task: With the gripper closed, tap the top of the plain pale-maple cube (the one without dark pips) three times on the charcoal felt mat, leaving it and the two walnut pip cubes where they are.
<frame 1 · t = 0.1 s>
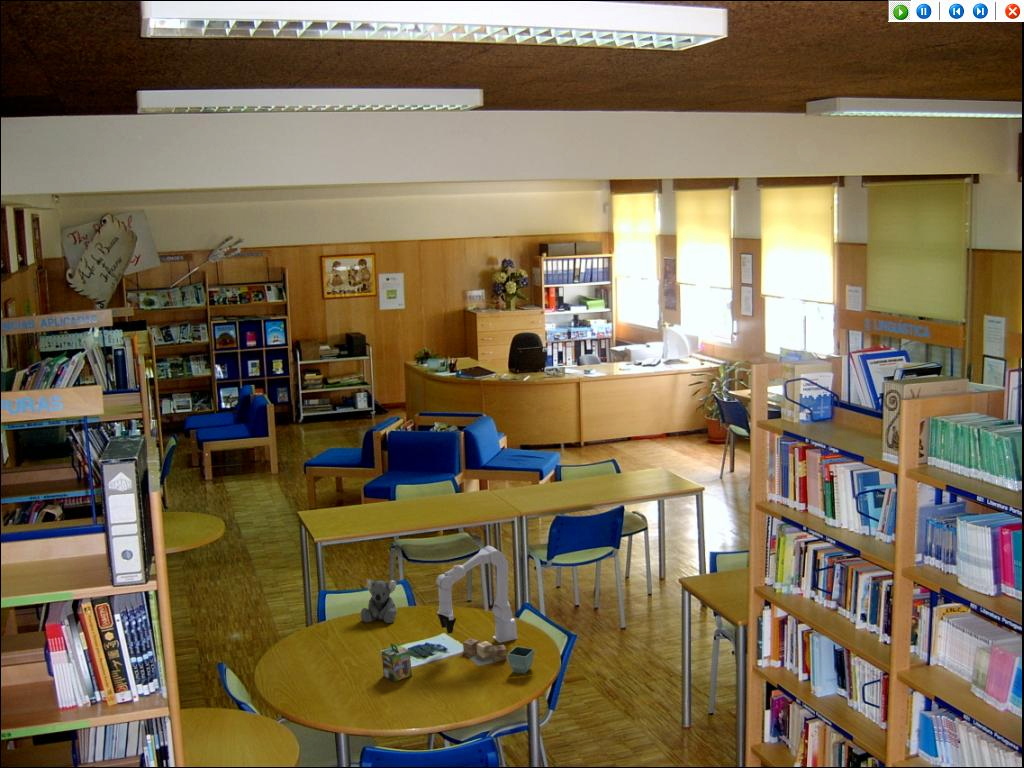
hand: (447, 630, 487), 10 cm above the table, fingers open, 7 cm apart
green printed carry box: (397, 676, 465), on the table
koala plush: (381, 617, 534), on the table
flower pot: (521, 671, 465), on the table
pip block two: (471, 651, 486), resting on felt mat
pip block one: (499, 658, 478), resting on felt mat
plain block: (485, 654, 482), resting on felt mat
felt mat: (485, 656, 482), on the table
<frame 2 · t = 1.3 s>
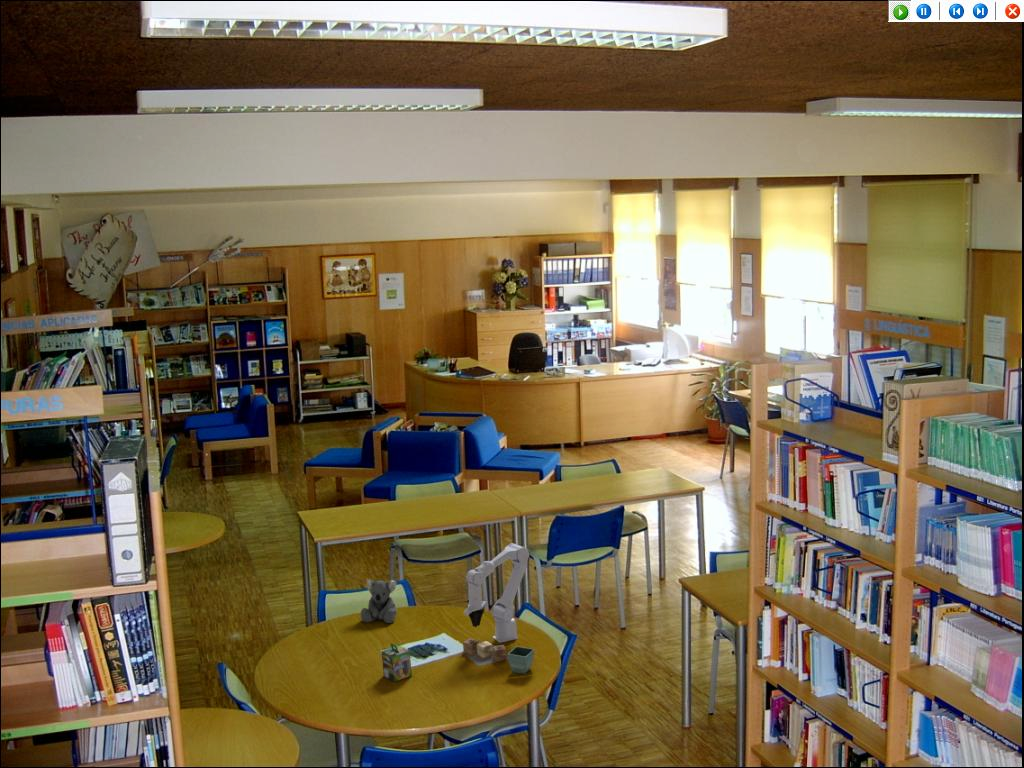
hand: (476, 625, 490), 10 cm above the table, fingers closed
nothing on the table moved.
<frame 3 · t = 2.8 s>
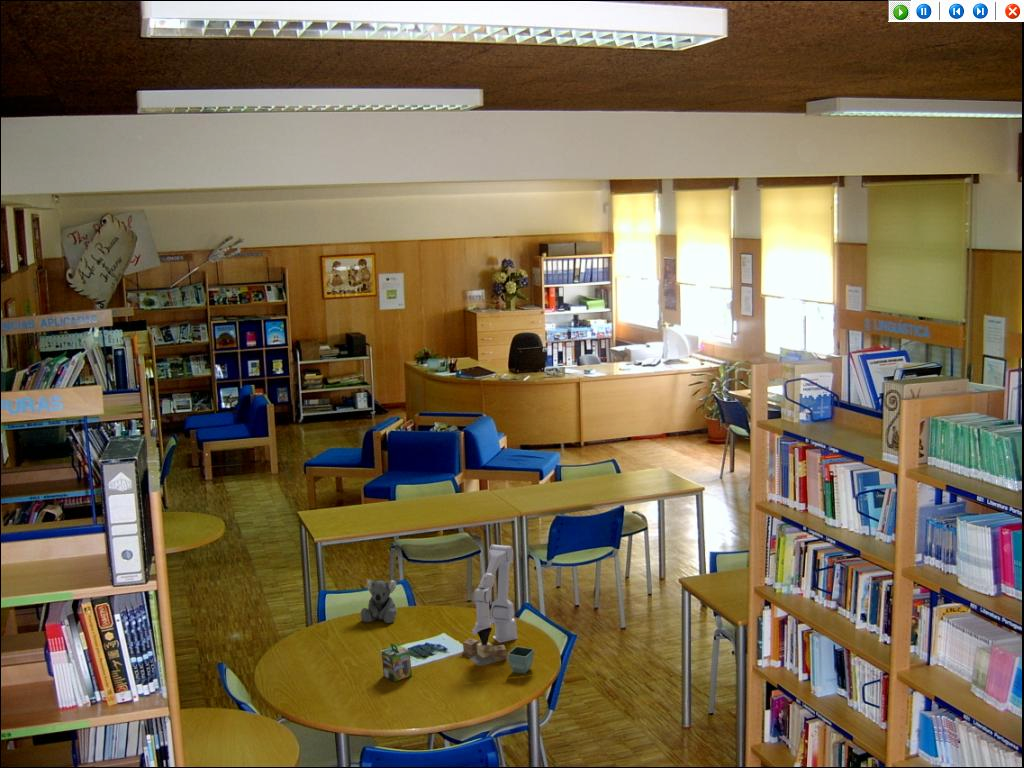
hand: (484, 644, 481), 5 cm above the table, fingers closed, pressing on plain block
plain block: (485, 654, 482), resting on felt mat, touching gripper
everything else where it was.
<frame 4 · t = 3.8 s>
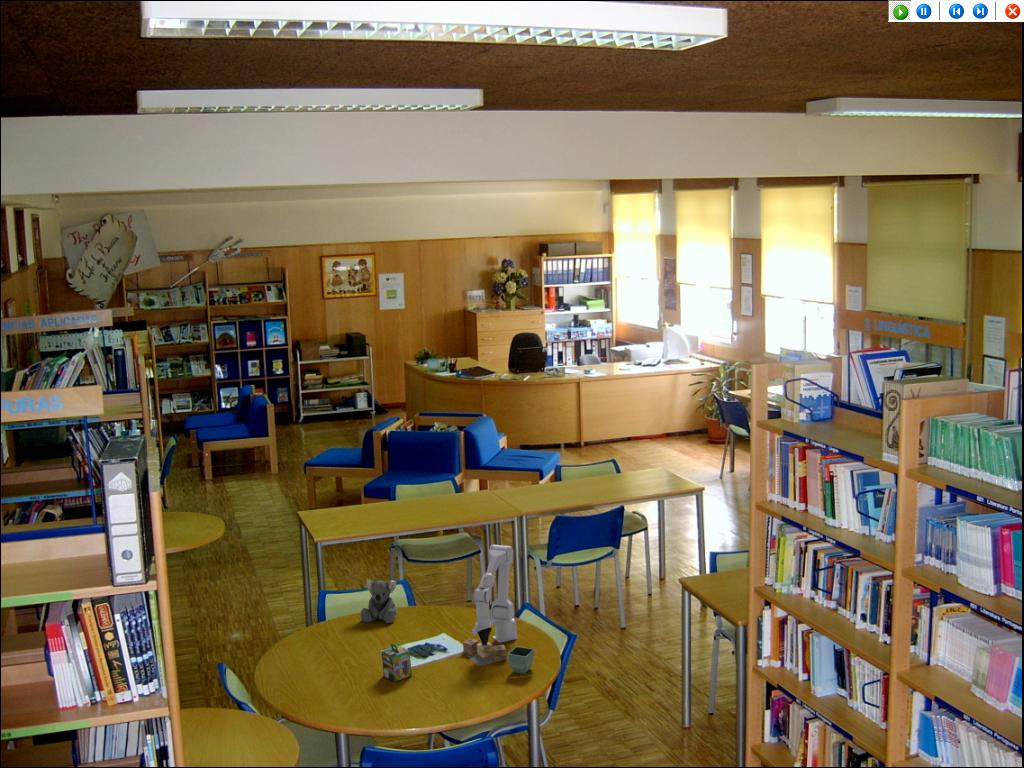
hand: (484, 644, 481), 5 cm above the table, fingers closed, pressing on plain block
plain block: (485, 654, 482), resting on felt mat, touching gripper
everything else where it was.
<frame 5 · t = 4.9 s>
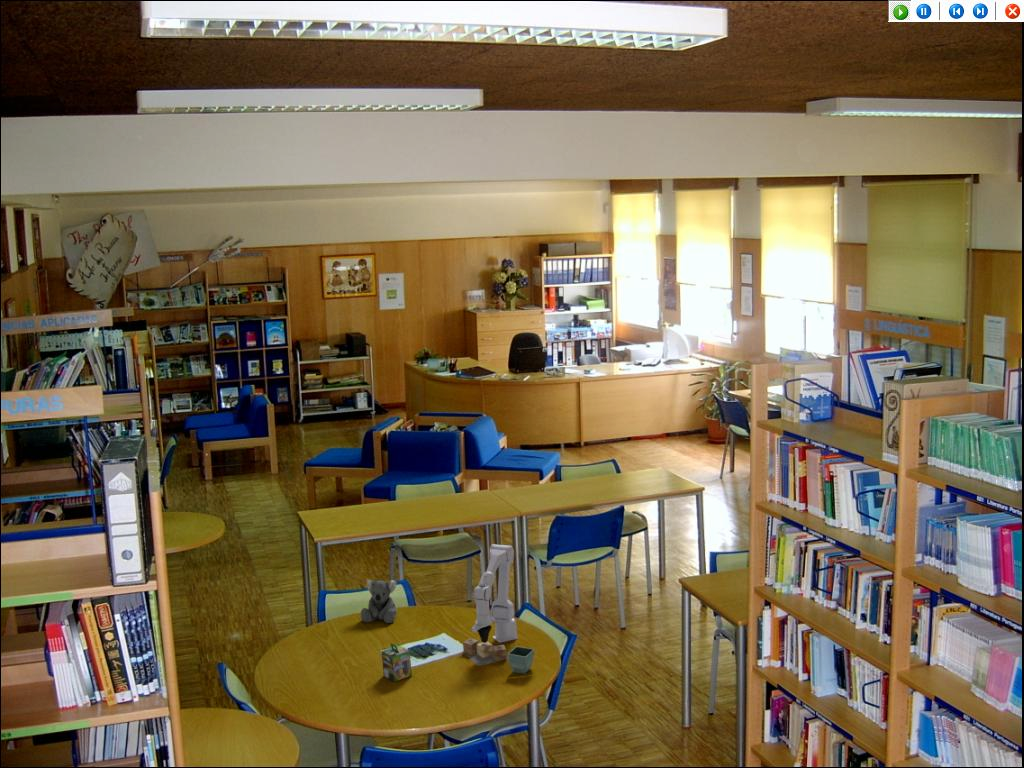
hand: (484, 642, 481), 6 cm above the table, fingers closed
plain block: (485, 654, 482), resting on felt mat
everything else where it was.
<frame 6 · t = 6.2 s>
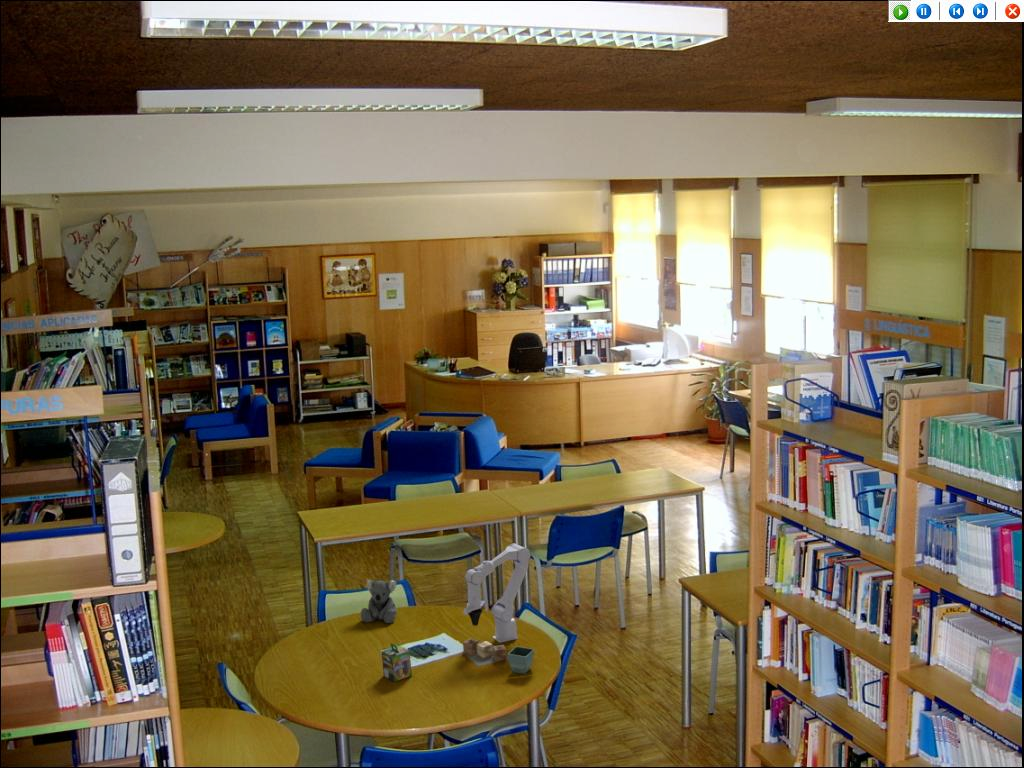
hand: (475, 625, 491), 10 cm above the table, fingers closed
nothing on the table moved.
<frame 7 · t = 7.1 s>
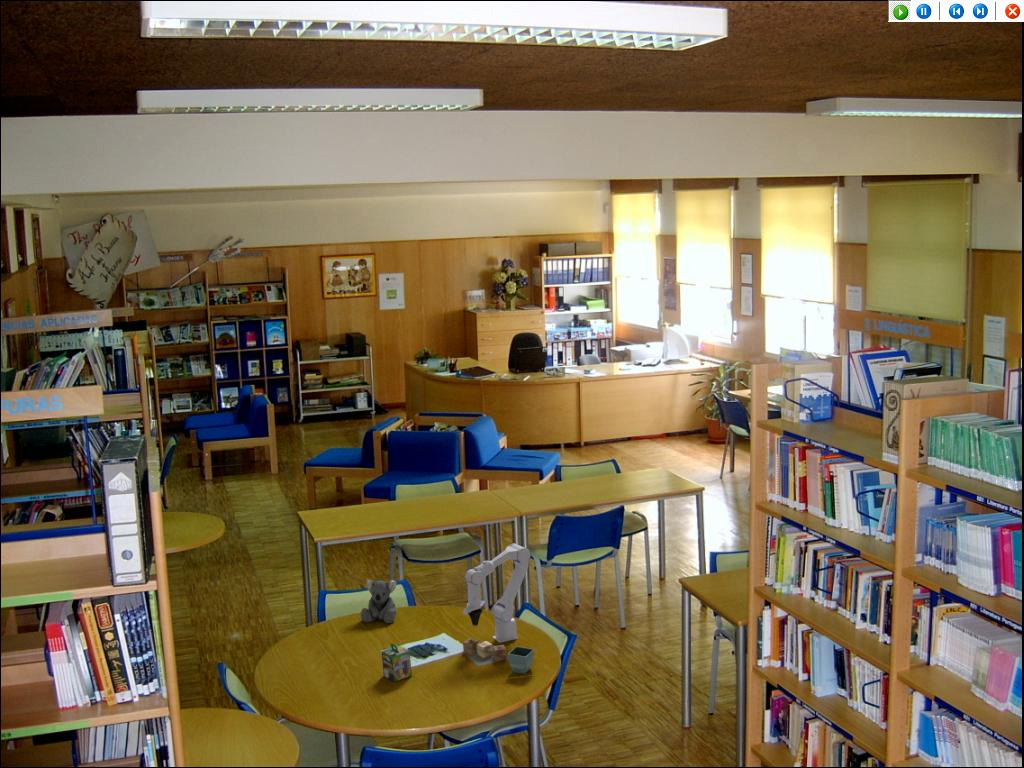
hand: (475, 625, 491), 10 cm above the table, fingers closed
nothing on the table moved.
at the end: plain block moved 0.0 cm from its start; plain block tilted 0°; plain block touching felt mat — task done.
